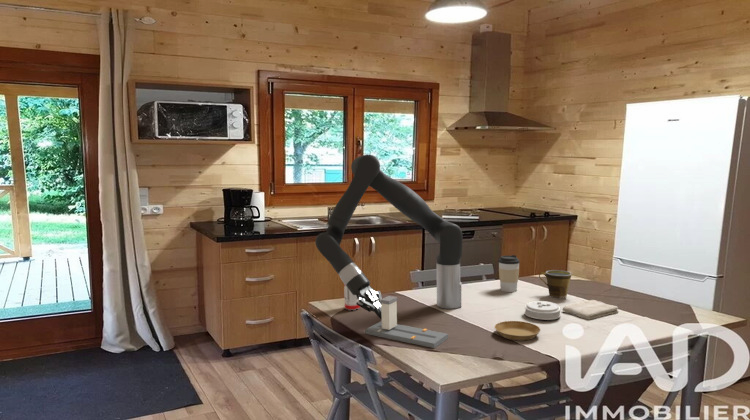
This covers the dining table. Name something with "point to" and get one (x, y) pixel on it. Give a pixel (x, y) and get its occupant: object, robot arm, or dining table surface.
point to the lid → (542, 310)
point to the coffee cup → (508, 273)
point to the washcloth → (590, 309)
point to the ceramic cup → (557, 283)
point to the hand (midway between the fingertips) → (384, 317)
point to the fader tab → (389, 312)
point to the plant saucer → (517, 330)
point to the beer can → (350, 299)
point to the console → (409, 334)
